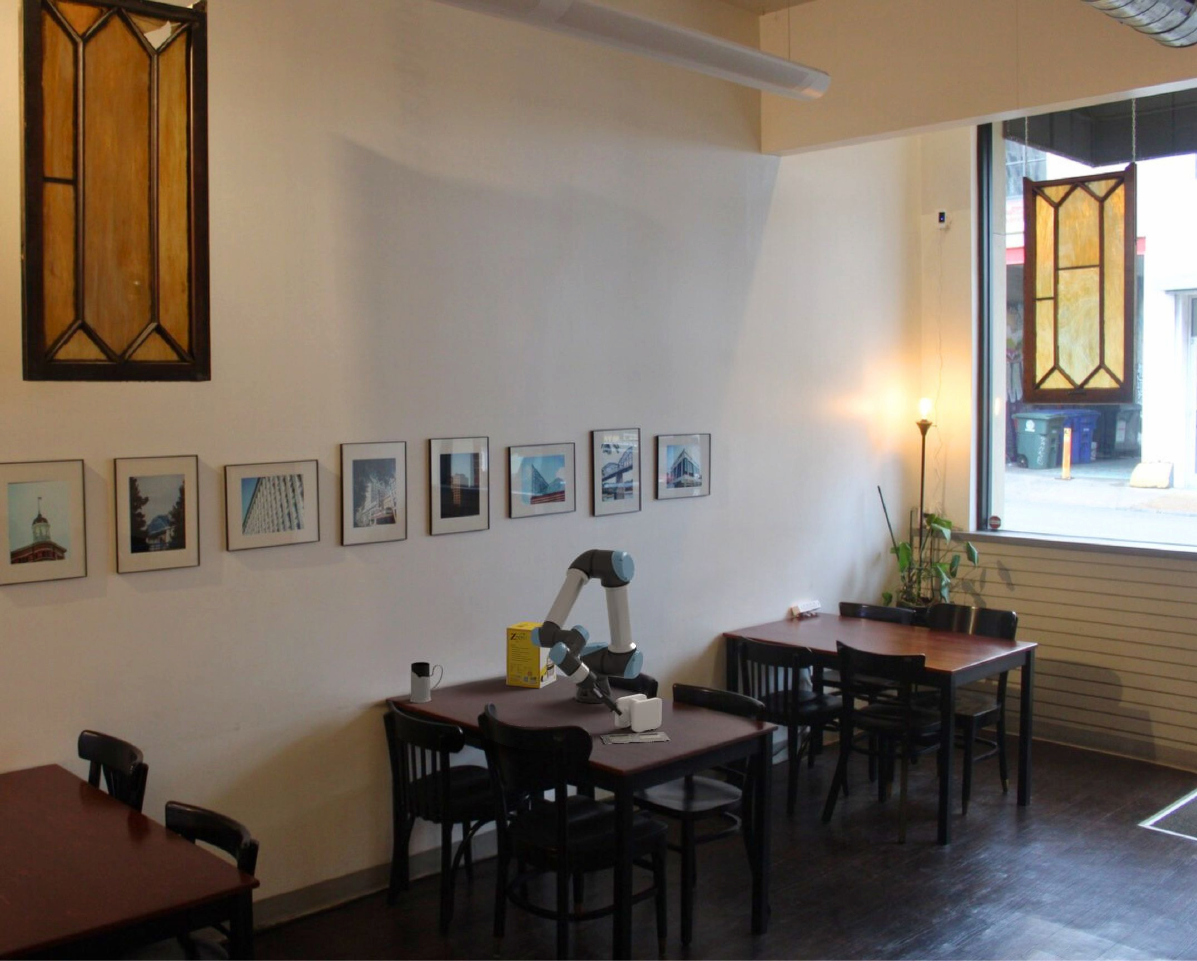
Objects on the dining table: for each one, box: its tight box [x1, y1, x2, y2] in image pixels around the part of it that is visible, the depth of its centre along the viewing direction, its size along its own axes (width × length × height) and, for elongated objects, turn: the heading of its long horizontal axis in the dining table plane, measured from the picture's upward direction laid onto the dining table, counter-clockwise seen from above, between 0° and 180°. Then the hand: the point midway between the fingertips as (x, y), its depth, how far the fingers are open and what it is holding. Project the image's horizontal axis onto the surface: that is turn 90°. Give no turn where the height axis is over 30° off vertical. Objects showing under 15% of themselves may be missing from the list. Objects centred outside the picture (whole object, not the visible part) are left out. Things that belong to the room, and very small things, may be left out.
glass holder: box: [409, 661, 444, 704], centre depth 468 cm, size 9×14×15 cm, turn 121°
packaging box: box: [505, 621, 557, 689], centre depth 496 cm, size 16×16×25 cm
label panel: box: [599, 731, 671, 745], centre depth 414 cm, size 10×24×1 cm, turn 100°
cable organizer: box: [614, 693, 663, 733], centre depth 426 cm, size 15×11×12 cm
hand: (626, 719), depth 425 cm, fingers closed
